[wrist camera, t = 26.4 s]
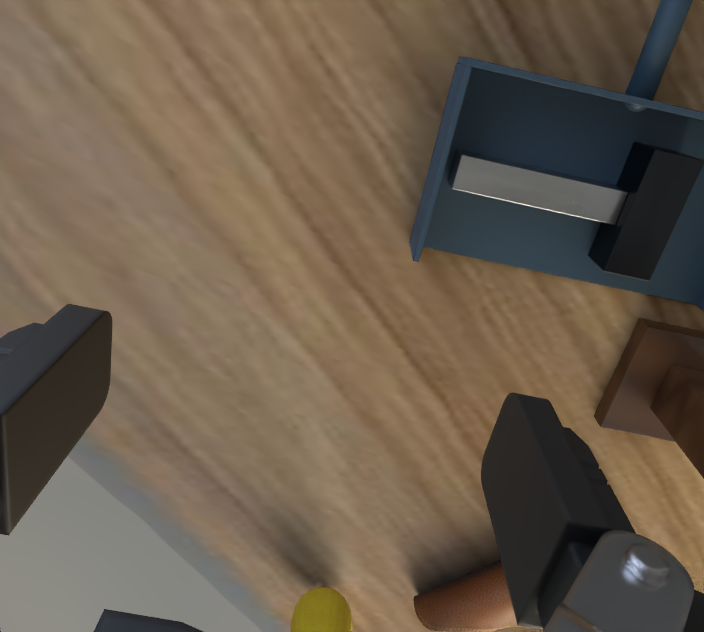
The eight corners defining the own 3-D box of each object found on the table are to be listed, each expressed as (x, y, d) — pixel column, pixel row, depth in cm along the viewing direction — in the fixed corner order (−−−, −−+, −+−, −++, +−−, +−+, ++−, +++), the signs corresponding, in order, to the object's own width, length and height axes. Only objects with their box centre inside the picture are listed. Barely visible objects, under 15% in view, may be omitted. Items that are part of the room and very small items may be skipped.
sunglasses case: (457, 644, 58) (446, 682, 52) (422, 577, 60) (407, 606, 53) (627, 572, 54) (637, 604, 47) (585, 502, 55) (590, 524, 49)
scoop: (698, 303, 43) (727, 326, 40) (409, 242, 42) (412, 261, 38) (871, -41, 34) (930, -51, 30) (508, -134, 32) (524, -155, 29)
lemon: (309, 561, 55) (300, 639, 48) (362, 579, 56) (361, 659, 49) (287, 598, 57) (275, 678, 50) (339, 615, 58) (335, 697, 51)
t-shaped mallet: (435, 222, 41) (440, 236, 38) (469, 103, 37) (477, 108, 34) (630, 265, 42) (649, 281, 39) (680, 151, 38) (705, 160, 35)
